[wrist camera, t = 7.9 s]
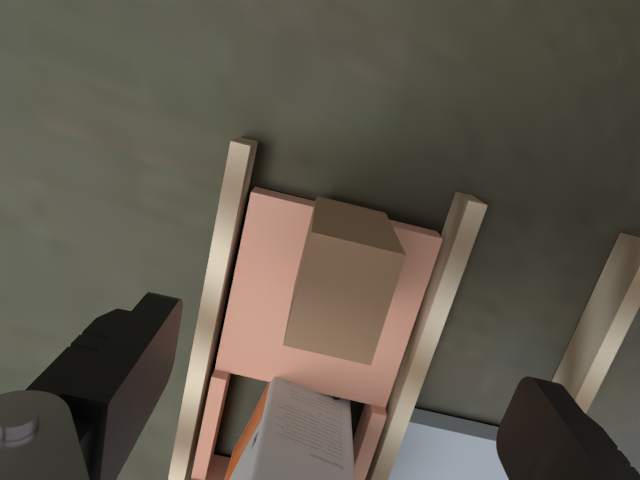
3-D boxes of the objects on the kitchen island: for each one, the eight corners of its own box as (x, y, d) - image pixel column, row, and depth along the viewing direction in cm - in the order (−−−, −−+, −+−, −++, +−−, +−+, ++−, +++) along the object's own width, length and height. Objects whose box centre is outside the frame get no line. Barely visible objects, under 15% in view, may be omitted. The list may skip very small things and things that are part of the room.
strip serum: (257, 175, 20) (224, 211, 14) (440, 220, 21) (490, 275, 14) (198, 463, 25) (152, 589, 18) (348, 495, 25) (354, 629, 19)
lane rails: (240, 136, 20) (230, 141, 18) (636, 236, 21) (667, 250, 19) (153, 591, 28) (140, 627, 26) (441, 648, 29) (449, 687, 27)
